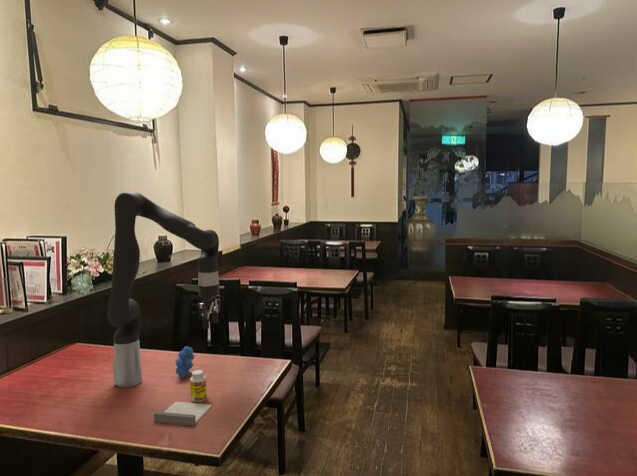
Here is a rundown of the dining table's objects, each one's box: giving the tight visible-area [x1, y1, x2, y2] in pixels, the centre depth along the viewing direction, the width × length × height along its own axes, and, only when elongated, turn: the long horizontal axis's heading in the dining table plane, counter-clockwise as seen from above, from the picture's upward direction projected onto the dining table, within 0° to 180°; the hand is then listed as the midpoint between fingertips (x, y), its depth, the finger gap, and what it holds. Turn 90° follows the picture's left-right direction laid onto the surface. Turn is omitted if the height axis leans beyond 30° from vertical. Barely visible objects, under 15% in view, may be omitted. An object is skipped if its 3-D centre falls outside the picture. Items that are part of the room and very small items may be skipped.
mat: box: [153, 401, 213, 427], centre depth 152 cm, size 14×13×3 cm
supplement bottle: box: [189, 369, 207, 403], centre depth 162 cm, size 6×6×10 cm
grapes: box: [175, 345, 195, 379], centre depth 183 cm, size 12×7×12 cm, turn 164°
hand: (210, 325), depth 171 cm, fingers open, 7 cm apart
